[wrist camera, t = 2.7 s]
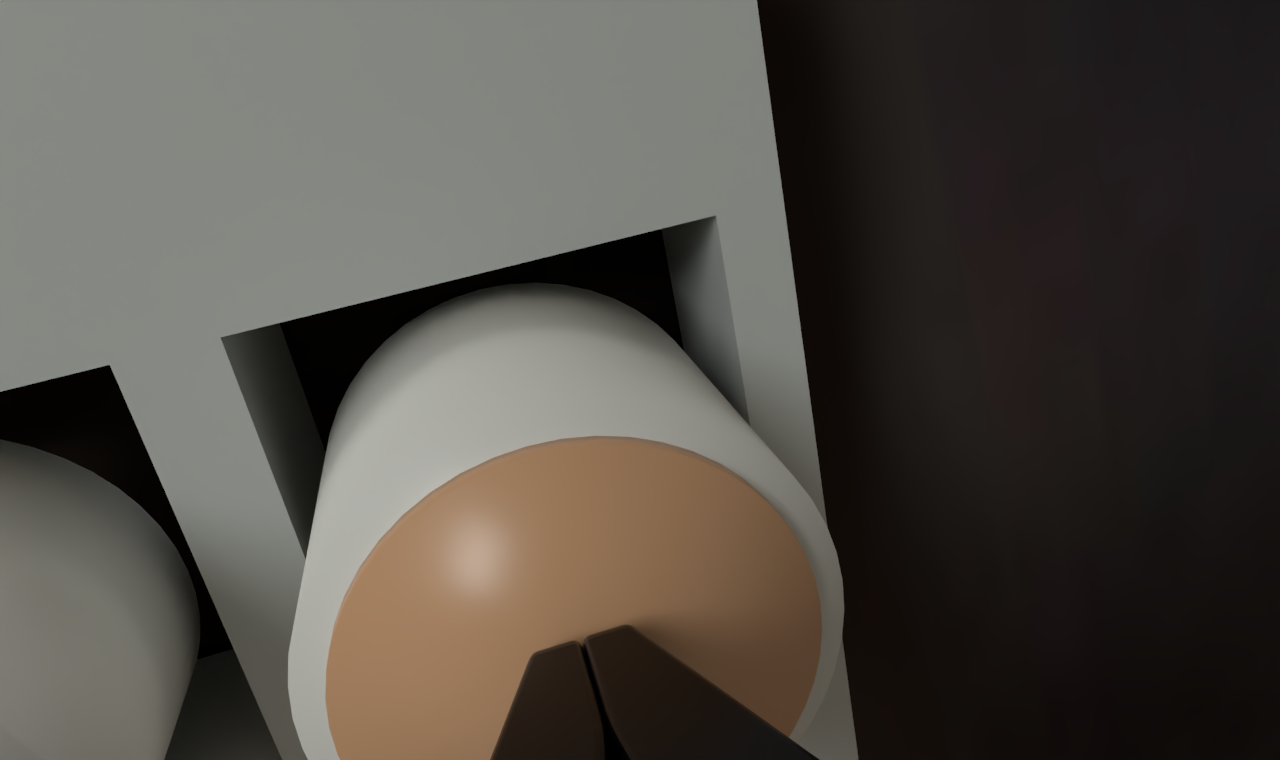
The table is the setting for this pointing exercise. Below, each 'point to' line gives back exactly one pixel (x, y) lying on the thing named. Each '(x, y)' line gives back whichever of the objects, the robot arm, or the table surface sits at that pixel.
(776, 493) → the button
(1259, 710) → the table surface
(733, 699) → the robot arm
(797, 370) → the board
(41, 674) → the button mid
